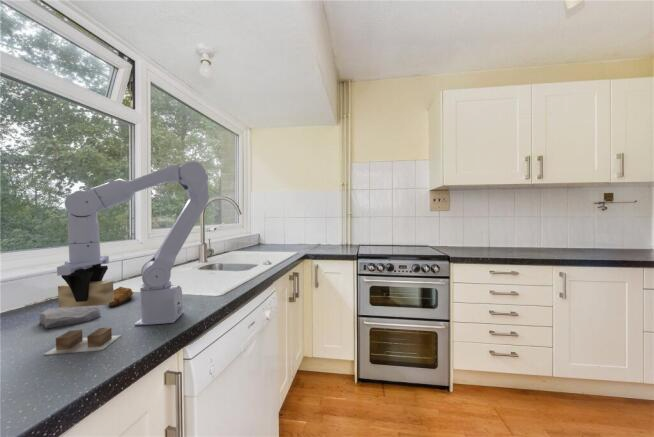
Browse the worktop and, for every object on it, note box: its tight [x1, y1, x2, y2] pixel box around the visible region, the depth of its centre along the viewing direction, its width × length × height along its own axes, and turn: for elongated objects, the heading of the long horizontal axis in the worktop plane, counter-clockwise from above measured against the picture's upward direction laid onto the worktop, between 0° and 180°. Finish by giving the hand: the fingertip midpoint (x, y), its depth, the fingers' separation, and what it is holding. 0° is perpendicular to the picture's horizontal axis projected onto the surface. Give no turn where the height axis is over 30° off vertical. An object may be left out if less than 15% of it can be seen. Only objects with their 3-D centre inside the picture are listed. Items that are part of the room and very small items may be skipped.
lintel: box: [57, 280, 114, 308], centre depth 69 cm, size 10×3×5 cm, turn 98°
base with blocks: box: [43, 327, 122, 356], centre depth 63 cm, size 11×7×3 cm, turn 98°
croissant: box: [108, 286, 134, 308], centre depth 94 cm, size 14×7×5 cm, turn 17°
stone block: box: [39, 305, 102, 329], centre depth 79 cm, size 12×5×10 cm
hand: (87, 298), depth 69 cm, fingers closed on lintel, 3 cm apart
